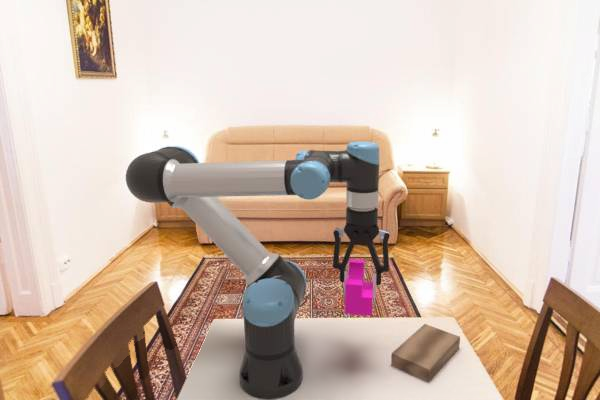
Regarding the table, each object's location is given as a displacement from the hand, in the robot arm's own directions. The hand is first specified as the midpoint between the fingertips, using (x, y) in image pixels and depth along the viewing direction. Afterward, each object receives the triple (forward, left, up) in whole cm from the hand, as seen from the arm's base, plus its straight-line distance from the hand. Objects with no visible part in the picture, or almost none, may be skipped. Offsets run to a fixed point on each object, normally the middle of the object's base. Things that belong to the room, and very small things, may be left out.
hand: (360, 294), depth 111 cm
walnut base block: (+17, +1, -17) cm, 24 cm away
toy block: (0, -2, -1) cm, 2 cm away
